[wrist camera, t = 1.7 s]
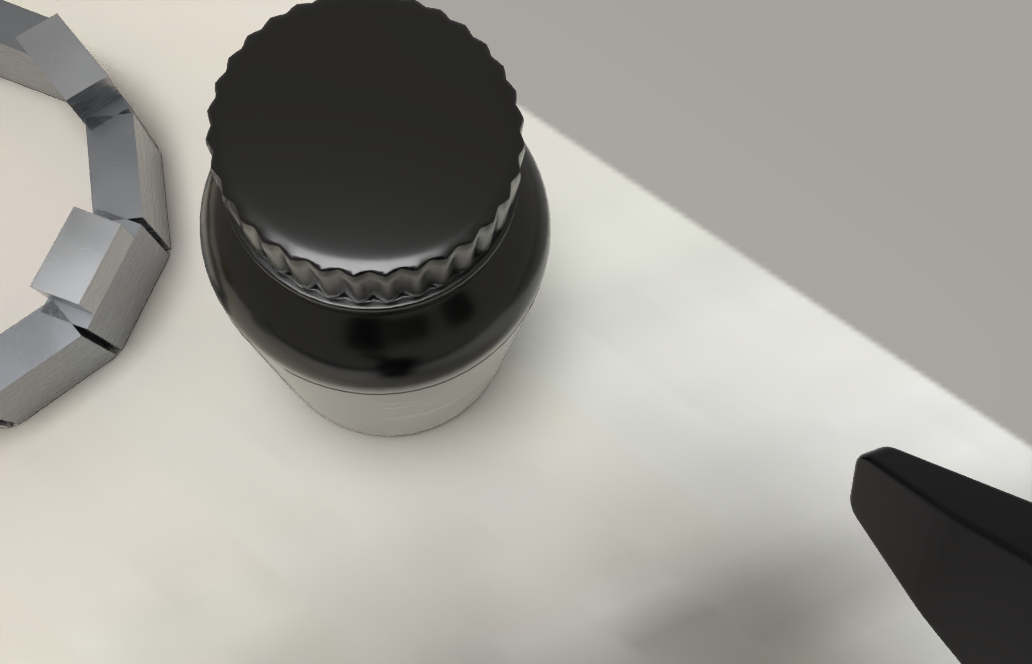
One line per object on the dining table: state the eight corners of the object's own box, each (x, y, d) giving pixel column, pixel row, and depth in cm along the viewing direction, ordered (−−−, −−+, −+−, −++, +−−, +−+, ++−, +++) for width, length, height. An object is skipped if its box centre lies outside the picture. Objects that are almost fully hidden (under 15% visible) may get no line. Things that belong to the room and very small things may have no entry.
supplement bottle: (516, 232, 24) (616, -24, 13) (491, 451, 23) (582, 384, 11) (292, 199, 24) (185, -105, 12) (250, 423, 22) (80, 320, 10)
